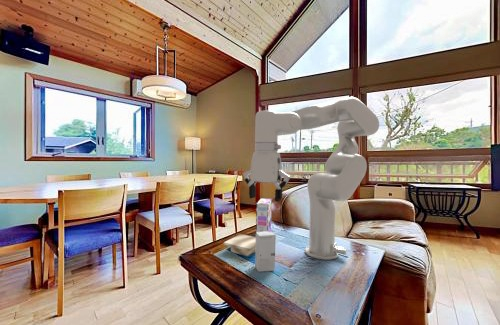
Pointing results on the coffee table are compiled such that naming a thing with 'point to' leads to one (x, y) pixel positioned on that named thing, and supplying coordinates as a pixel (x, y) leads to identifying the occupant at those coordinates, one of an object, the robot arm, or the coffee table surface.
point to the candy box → (263, 215)
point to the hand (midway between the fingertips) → (264, 199)
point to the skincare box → (265, 251)
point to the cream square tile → (242, 244)
